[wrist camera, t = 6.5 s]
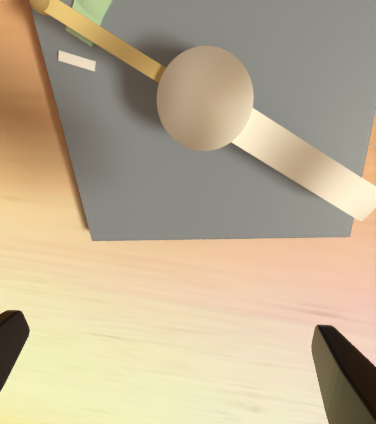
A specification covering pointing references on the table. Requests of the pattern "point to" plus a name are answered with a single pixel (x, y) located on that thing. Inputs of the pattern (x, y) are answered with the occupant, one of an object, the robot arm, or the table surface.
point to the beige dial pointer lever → (225, 113)
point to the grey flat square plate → (230, 154)
